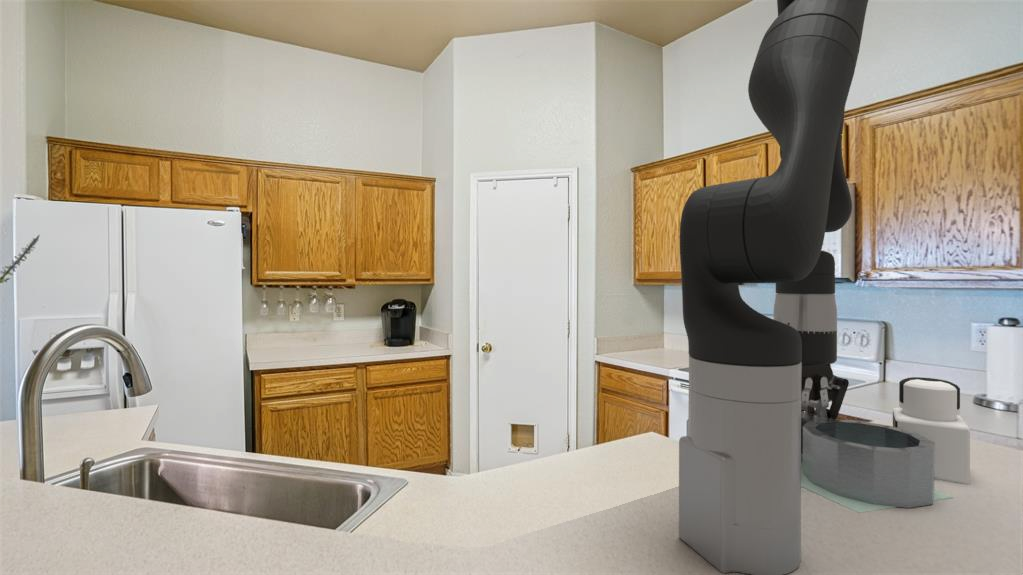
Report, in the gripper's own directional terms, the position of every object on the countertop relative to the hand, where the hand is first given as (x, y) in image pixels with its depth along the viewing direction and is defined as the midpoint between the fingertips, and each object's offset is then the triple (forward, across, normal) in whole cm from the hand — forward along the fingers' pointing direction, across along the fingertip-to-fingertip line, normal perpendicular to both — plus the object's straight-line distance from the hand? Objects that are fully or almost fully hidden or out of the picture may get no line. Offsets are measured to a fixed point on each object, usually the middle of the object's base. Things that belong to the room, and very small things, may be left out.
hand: (803, 450), depth 67 cm
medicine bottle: (+2, +13, -7) cm, 15 cm away
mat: (+1, -1, -6) cm, 6 cm away
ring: (+1, 0, -9) cm, 9 cm away
